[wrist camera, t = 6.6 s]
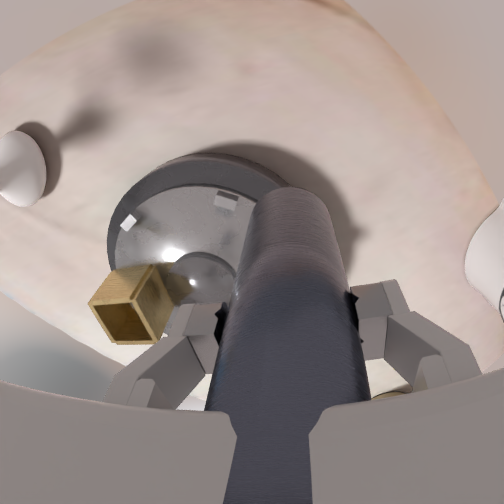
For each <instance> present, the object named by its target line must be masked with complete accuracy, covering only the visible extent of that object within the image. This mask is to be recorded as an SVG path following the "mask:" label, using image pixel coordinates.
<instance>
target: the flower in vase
mask: <svg viewBox="0 0 504 504" xmlns="http://www.w3.org/2000/svg"><path fill="white" fill-rule="evenodd" d="M45 184H46V165H45V160H44V157H43V154H42V152H41V150H40V148H39V146H38V145H37V143H36V142H35V141H34V140H33V139H32V138H31V137H30V136H29V135H27V134H25V133H23V132H21V131H11V132H8V133H7V134H5V135H4V136H3V137H2V138H1V140H0V194H1V195H2V196H3V197H4V198H5V199H6V200H8V201H9V202H11V203H13V204H15V205H17V206H21V207H24V206H31V205H33V204H35V203H36V202H38V200H39V199H40V198H41V196H42V194H43V192H44V188H45Z"/></svg>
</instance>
